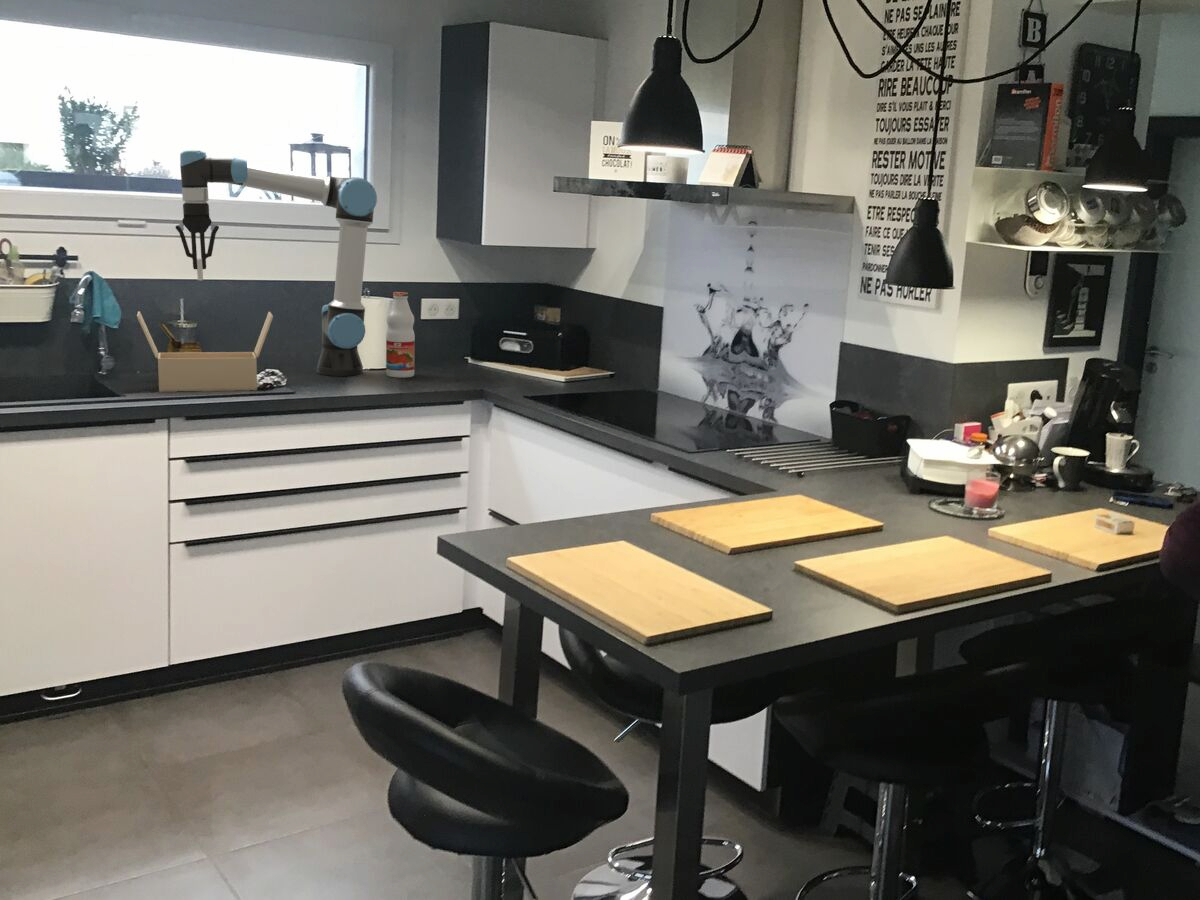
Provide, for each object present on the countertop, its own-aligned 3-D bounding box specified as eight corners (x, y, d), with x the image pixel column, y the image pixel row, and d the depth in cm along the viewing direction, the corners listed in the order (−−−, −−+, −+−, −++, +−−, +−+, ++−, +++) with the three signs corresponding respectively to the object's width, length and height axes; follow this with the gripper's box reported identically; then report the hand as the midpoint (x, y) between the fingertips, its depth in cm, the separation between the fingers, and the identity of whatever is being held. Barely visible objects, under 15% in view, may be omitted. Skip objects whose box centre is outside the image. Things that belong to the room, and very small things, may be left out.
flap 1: (157, 357, 348) (155, 358, 348) (158, 351, 359) (156, 352, 359) (138, 315, 344) (136, 316, 344) (139, 311, 355) (138, 311, 355)
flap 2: (254, 351, 369) (255, 351, 369) (256, 356, 357) (258, 357, 358) (268, 311, 368) (270, 312, 368) (271, 316, 356) (273, 316, 356)
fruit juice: (417, 374, 402) (418, 292, 396) (409, 378, 393) (410, 294, 387) (391, 373, 403) (391, 290, 397) (382, 377, 394) (382, 292, 388)
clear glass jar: (162, 376, 378) (160, 320, 374) (206, 376, 382) (204, 320, 378) (159, 380, 370) (157, 323, 366) (205, 380, 373) (203, 323, 370)
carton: (254, 383, 371) (253, 352, 369) (257, 390, 359) (256, 358, 357) (159, 385, 362) (158, 352, 360) (159, 392, 350) (157, 358, 348)
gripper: (217, 202, 366) (221, 278, 371) (172, 201, 361) (177, 279, 366) (218, 202, 359) (223, 280, 364) (173, 202, 354) (178, 281, 360)
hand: (200, 280), depth 365 cm, fingers closed
